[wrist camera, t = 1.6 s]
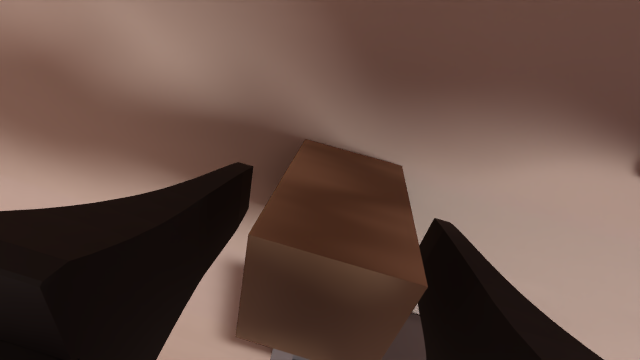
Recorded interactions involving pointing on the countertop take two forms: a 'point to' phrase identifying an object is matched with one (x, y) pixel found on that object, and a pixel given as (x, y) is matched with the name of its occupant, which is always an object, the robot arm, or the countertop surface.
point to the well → (403, 353)
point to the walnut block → (332, 259)
